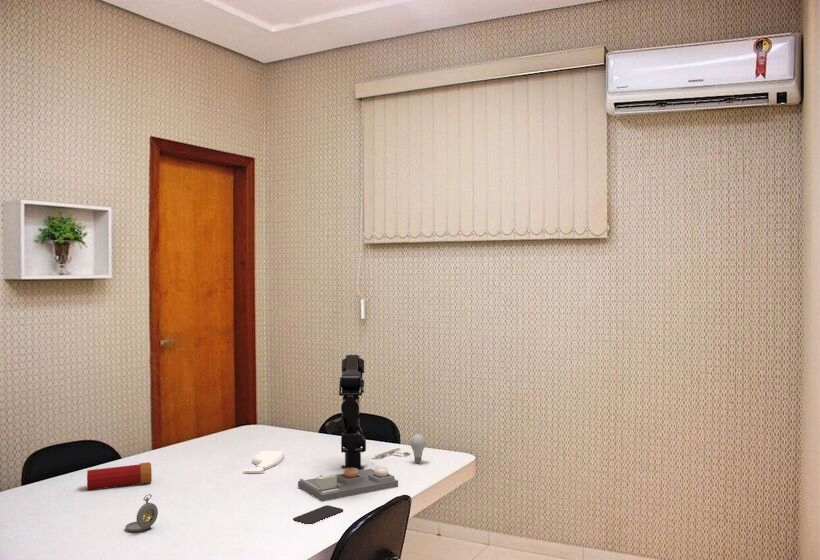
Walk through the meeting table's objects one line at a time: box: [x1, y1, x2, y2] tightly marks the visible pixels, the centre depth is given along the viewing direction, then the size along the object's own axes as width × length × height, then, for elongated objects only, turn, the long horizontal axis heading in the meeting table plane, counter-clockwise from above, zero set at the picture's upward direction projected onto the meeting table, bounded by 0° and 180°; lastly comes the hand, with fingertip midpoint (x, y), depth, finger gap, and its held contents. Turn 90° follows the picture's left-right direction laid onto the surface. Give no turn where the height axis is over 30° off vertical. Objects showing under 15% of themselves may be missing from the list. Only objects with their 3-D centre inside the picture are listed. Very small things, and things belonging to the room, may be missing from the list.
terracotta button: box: [343, 468, 359, 477], centre depth 227 cm, size 5×5×2 cm
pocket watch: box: [125, 493, 159, 533], centre depth 186 cm, size 8×8×10 cm
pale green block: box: [316, 474, 337, 490], centre depth 218 cm, size 2×6×4 cm, turn 124°
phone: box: [292, 504, 344, 525], centre depth 198 cm, size 7×1×15 cm
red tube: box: [86, 462, 152, 491], centre depth 227 cm, size 7×20×7 cm, turn 114°
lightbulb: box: [409, 433, 427, 464], centre depth 257 cm, size 6×6×11 cm
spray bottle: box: [242, 450, 285, 474], centre depth 254 cm, size 3×11×24 cm
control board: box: [297, 468, 399, 502], centre depth 226 cm, size 18×28×4 cm, turn 124°
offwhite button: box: [374, 466, 389, 477], centre depth 228 cm, size 5×5×2 cm
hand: (350, 457), depth 227 cm, fingers closed
